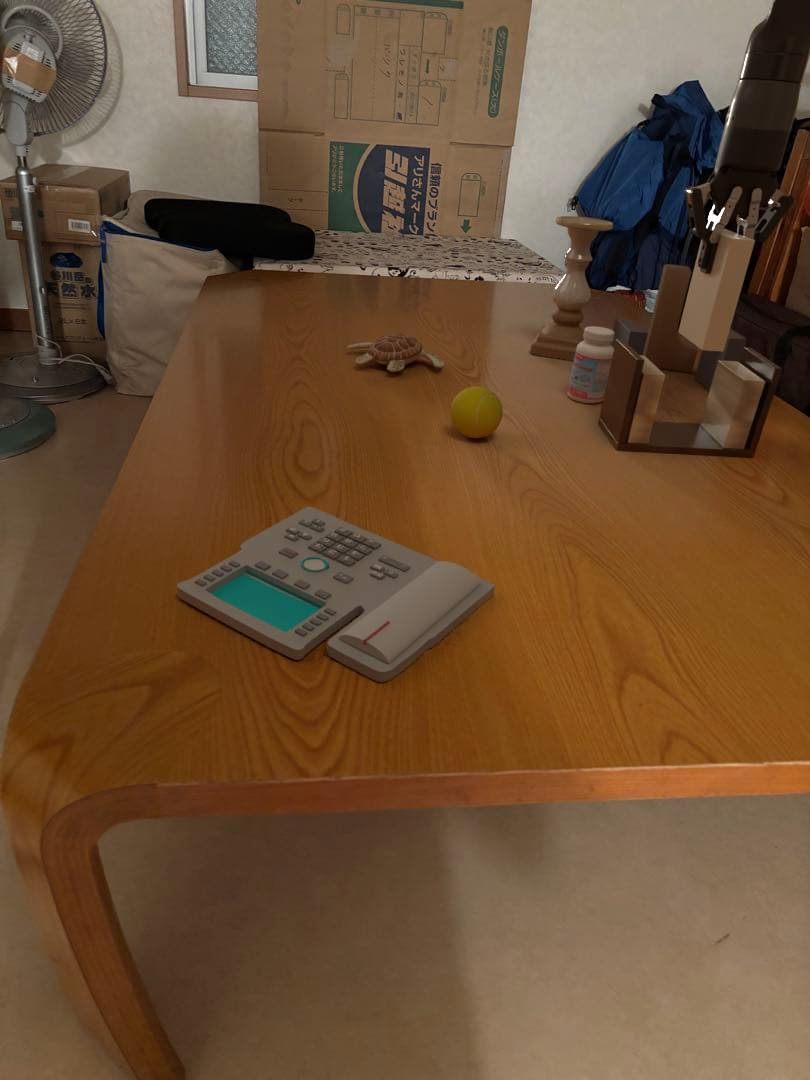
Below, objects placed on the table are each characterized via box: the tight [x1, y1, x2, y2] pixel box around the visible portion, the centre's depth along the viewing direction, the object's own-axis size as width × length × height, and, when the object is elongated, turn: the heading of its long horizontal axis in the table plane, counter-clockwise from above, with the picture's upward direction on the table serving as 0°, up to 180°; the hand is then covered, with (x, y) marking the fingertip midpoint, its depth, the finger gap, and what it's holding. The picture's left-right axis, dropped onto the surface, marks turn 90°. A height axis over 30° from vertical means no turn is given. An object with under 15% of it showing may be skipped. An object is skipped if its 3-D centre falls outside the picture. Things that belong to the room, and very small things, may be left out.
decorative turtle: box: [346, 332, 445, 373], centre depth 135 cm, size 18×17×5 cm
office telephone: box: [176, 505, 496, 683], centre depth 71 cm, size 23×3×20 cm
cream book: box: [678, 228, 755, 352], centre depth 103 cm, size 3×9×14 cm, turn 3°
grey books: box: [610, 317, 748, 392], centre depth 135 cm, size 20×9×10 cm, turn 93°
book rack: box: [597, 339, 783, 459], centre depth 110 cm, size 20×10×13 cm, turn 93°
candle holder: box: [529, 215, 614, 362], centre depth 145 cm, size 11×11×24 cm
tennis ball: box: [449, 385, 503, 439], centre depth 107 cm, size 7×7×7 cm
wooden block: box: [643, 263, 698, 374], centre depth 142 cm, size 9×4×18 cm, turn 77°
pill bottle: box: [567, 325, 614, 405], centre depth 124 cm, size 6×6×11 cm
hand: (718, 272), depth 102 cm, fingers closed on cream book, 3 cm apart
